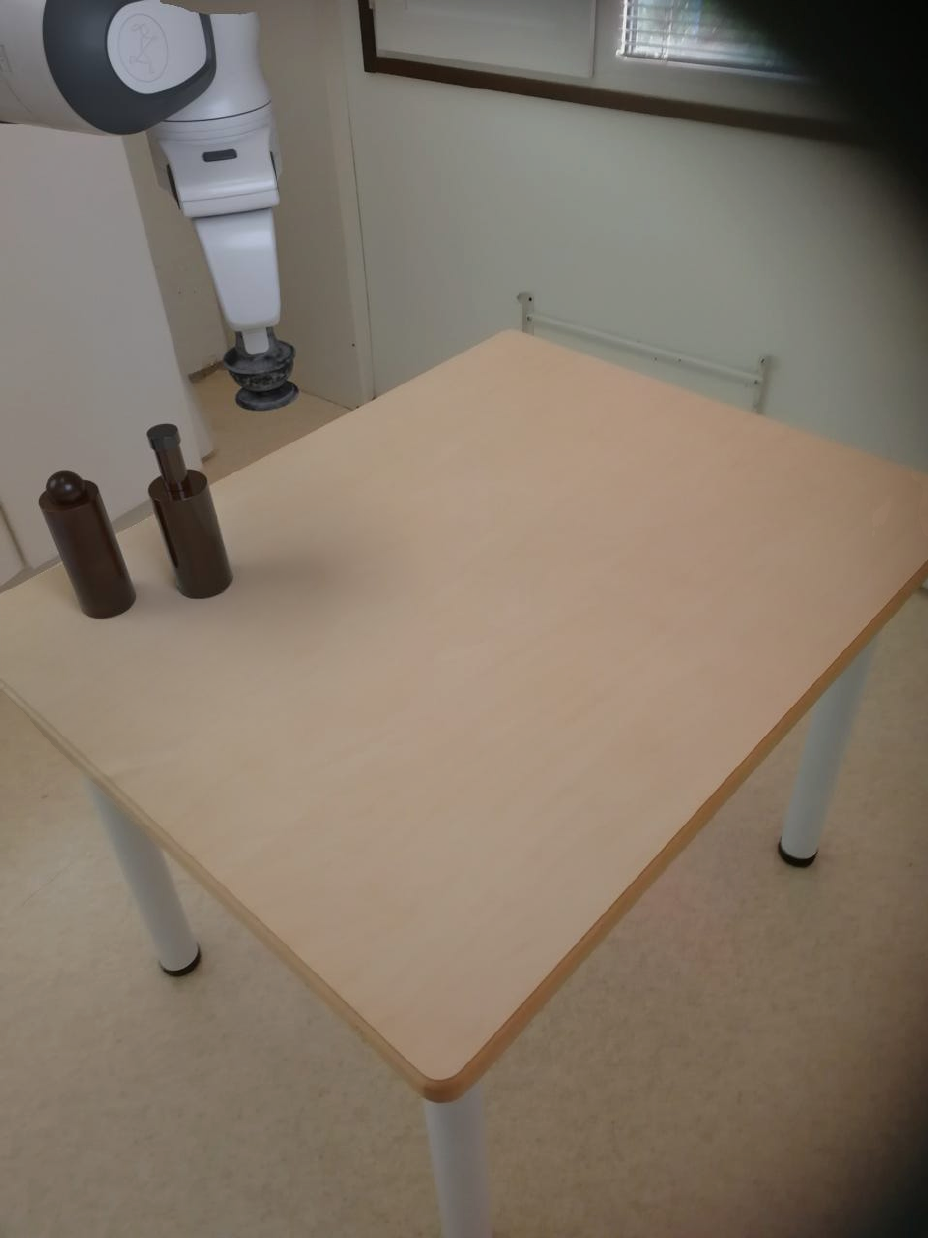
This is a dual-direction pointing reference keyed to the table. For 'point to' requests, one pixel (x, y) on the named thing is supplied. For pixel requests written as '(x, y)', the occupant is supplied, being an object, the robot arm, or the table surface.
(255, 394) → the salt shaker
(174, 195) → the robot arm
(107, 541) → the pepper mill
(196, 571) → the vinegar bottle
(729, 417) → the table surface
